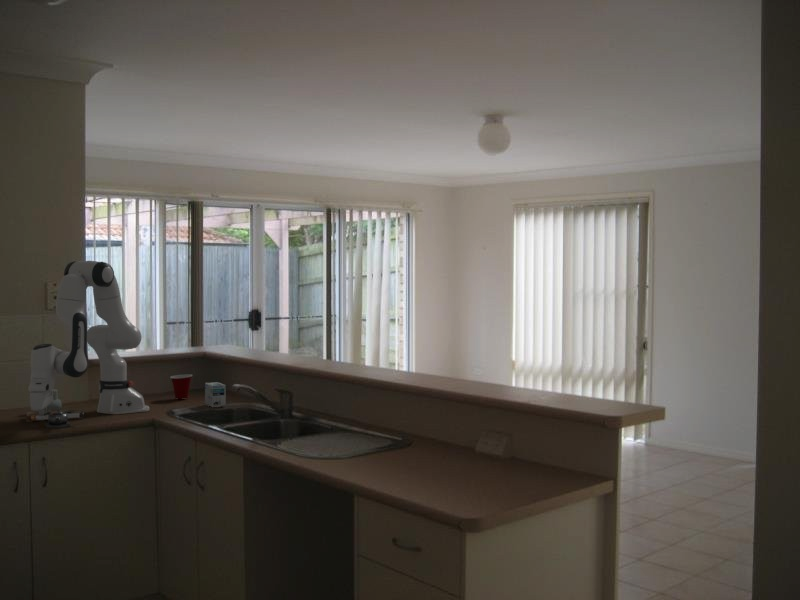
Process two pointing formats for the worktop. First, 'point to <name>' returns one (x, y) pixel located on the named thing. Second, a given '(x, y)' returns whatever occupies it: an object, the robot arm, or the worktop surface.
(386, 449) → the worktop surface
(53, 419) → the capstan
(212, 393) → the light bulb box
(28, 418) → the level stand
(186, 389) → the plastic cup
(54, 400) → the air freshener
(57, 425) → the pedestal
